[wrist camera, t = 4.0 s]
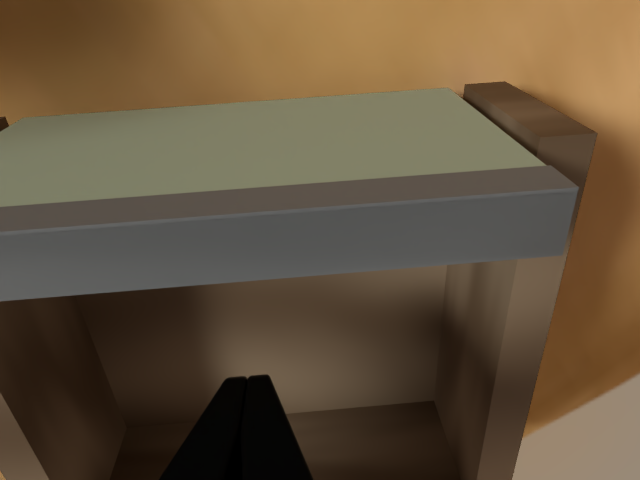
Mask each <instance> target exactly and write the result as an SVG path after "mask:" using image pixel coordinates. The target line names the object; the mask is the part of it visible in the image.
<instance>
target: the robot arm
mask: <svg viewBox="0 0 640 480" xmlns="http://www.w3.org/2000/svg"><path fill="white" fill-rule="evenodd" d="M158 480H314V479H313V477H312V475H311V472H310V470H309V468H308V465H307V463H306V460H305V458H304V456H303V453H302V451H301V449H300V446H299V444H298V442H297V439H296V437H295V434H294V432H293V430H292V427H291V425H290V423H289V420H288V418H287V416H286V413H285V411H284V408H283V406H282V404H281V401H280V399H279V397H278V394H277V392H276V390H275V387H274V385H273V382H272V380H271V378H270V376H269V375H267V374H263V375H251V376H249V378H247V377H245V376H239V377H228V378H226V379H225V380H224V381H223V383H222V384H221V386H220V387H219V389H218V390H217V392H216V393H215V395H214V396H213V398H212V400H211V401H210V403H209V404H208V406H207V407H206V409H205V410H204V412H203V413H202V415H201V416H200V418H199V419H198V421H197V422H196V424H195V425H194V427H193V428H192V430H191V431H190V433H189V434H188V436H187V437H186V439H185V440H184V442H183V443H182V445H181V446H180V448H179V449H178V451H177V452H176V454H175V455H174V457H173V458H172V460H171V461H170V463H169V464H168V466H167V467H166V469H165V470H164V472H163V473H162V475H161V476H160V478H159V479H158Z"/></svg>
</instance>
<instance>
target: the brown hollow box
mask: <svg viewBox="0 0 640 480" xmlns="http://www.w3.org/2000/svg"><path fill="white" fill-rule="evenodd" d="M463 100H464V101H466V102H467V103H468V104H470V105H471V106H472V107H473V108H475V109H476V110H477V111H478V112H480V113H481V114H482V115H483V116H485V117H486V118H487V119H488V120H490V121H491V122H492V123H494V124H495V125H496V126H497V127H499V128H500V129H501V130H502V131H504V132H505V133H506V134H507V135H509V136H510V137H511V138H512V139H514V140H515V141H516V142H518V143H519V144H520V145H521V146H523V147H524V148H525V149H526V150H528V151H529V152H530V153H531V154H533V155H534V156H535V157H536V158H538V159H539V160H540V161H542V162H543V163H544V164H545V165H547V166H548V165H551V166H552V167H554V168H555V169H556V170H558V171H559V172H560V173H561V174H563V175H564V176H565V177H567V178H568V179H569V180H570V181H572V182H573V183H574V184H576V185H577V186H578V187H579V189H578V194H577V198H576V202H575V206H574V210H573V214H572V218H571V223H570V227H569V231H568V235H567V239H566V243H565V247H564V252H563V256H552V257H539V258H527V259H515V260H502V261H490V262H478V263H465V264H453V265H441V266H429V267H416V268H404V269H392V270H379V271H367V272H355V273H342V274H330V275H318V276H306V277H293V278H281V279H269V280H256V281H244V282H232V283H219V284H207V285H195V286H183V287H170V288H158V289H146V290H133V291H121V292H109V293H96V294H84V295H72V296H59V297H47V298H35V299H23V300H10V301H0V471H1V472H2V474H3V476H4V477H5V479H6V480H158V479H159V478H160V476H161V475H162V473H163V472H164V470H165V469H166V467H167V466H168V464H169V463H170V461H171V460H172V458H173V457H174V455H175V454H176V452H177V451H178V449H179V448H180V446H181V445H182V443H183V442H184V440H185V439H186V437H187V436H188V434H189V433H190V431H191V430H192V428H193V427H194V425H195V424H196V422H197V421H198V419H199V418H200V416H201V415H202V413H203V412H204V410H205V409H206V407H207V406H208V404H209V403H210V401H211V400H212V398H213V396H214V395H215V393H216V392H217V390H218V389H219V387H220V386H221V384H222V383H223V381H224V380H225V379H226V378H228V377H239V376H245V377H247V378H249V376H251V375H263V374H267V375H269V376H270V378H271V380H272V382H273V385H274V387H275V390H276V392H277V394H278V397H279V399H280V401H281V404H282V406H283V408H284V411H285V413H286V416H287V418H288V420H289V423H290V425H291V427H292V430H293V432H294V434H295V437H296V439H297V442H298V444H299V446H300V449H301V451H302V453H303V456H304V458H305V460H306V463H307V465H308V468H309V470H310V472H311V475H312V477H313V479H314V480H512V477H513V473H514V468H515V464H516V460H517V456H518V452H519V448H520V444H521V440H522V436H523V432H524V428H525V424H526V420H527V416H528V412H529V408H530V404H531V400H532V396H533V392H534V388H535V384H536V380H537V376H538V371H539V367H540V363H541V359H542V355H543V351H544V347H545V343H546V339H547V335H548V331H549V327H550V323H551V319H552V315H553V311H554V307H555V303H556V299H557V295H558V291H559V287H560V283H561V278H562V274H563V270H564V266H565V262H566V258H567V254H568V250H569V246H570V242H571V238H572V234H573V230H574V226H575V222H576V218H577V214H578V210H579V206H580V202H581V198H582V194H583V190H584V185H585V181H586V177H587V173H588V169H589V165H590V161H591V157H592V153H593V149H594V145H595V141H596V137H597V133H596V132H594V131H592V130H591V129H589V128H587V127H585V126H584V125H582V124H580V123H578V122H576V121H575V120H573V119H571V118H569V117H568V116H566V115H564V114H562V113H560V112H559V111H557V110H555V109H553V108H551V107H550V106H548V105H546V104H544V103H543V102H541V101H539V100H537V99H535V98H534V97H532V96H530V95H528V94H527V93H525V92H523V91H521V90H519V89H518V88H516V87H514V86H512V85H510V84H509V83H507V82H492V83H478V84H465V87H464V97H463ZM7 127H9V125H8V123H7V120H6V118H5V117H0V132H1V131H2V130H4V129H6V128H7Z"/></svg>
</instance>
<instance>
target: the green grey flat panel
mask: <svg viewBox="0 0 640 480" xmlns="http://www.w3.org/2000/svg"><path fill="white" fill-rule="evenodd" d="M578 189H579V187H578V186H577V185H576V184H574V183H573V182H572V181H570V180H569V179H568V178H567V177H565V176H564V175H563V174H561V173H560V172H559V171H558V170H556V169H555V168H554V167H552V166H551V165H548V166H547V165H545V164H544V163H543V162H542V161H540V160H539V159H538V158H536V157H535V156H534V155H533V154H531V153H530V152H529V151H528V150H526V149H525V148H524V147H523V146H521V145H520V144H519V143H518V142H516V141H515V140H514V139H512V138H511V137H510V136H509V135H507V134H506V133H505V132H504V131H502V130H501V129H500V128H499V127H497V126H496V125H495V124H494V123H492V122H491V121H490V120H488V119H487V118H486V117H485V116H483V115H482V114H481V113H480V112H478V111H477V110H476V109H475V108H473V107H472V106H471V105H470V104H468V103H467V102H466V101H464V100H463V99H462V98H461V97H459V96H458V95H457V94H456V93H454V92H453V91H452V90H451V89H449V88H437V89H422V90H408V91H394V92H380V93H366V94H352V95H337V96H323V97H309V98H295V99H281V100H266V101H252V102H238V103H224V104H210V105H195V106H181V107H167V108H153V109H139V110H125V111H110V112H96V113H82V114H68V115H54V116H39V117H25V118H22V119H20V120H18V121H17V122H15V123H14V124H12V125H10V126H9V127H7V128H6V129H4V130H2V131H1V132H0V301H10V300H23V299H35V298H47V297H59V296H72V295H84V294H96V293H109V292H121V291H133V290H146V289H158V288H170V287H183V286H195V285H207V284H219V283H232V282H244V281H256V280H269V279H281V278H293V277H306V276H318V275H330V274H342V273H355V272H367V271H379V270H392V269H404V268H416V267H429V266H441V265H453V264H465V263H478V262H490V261H502V260H515V259H527V258H539V257H552V256H563V252H564V247H565V243H566V239H567V235H568V231H569V227H570V223H571V218H572V214H573V210H574V206H575V202H576V198H577V194H578Z"/></svg>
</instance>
